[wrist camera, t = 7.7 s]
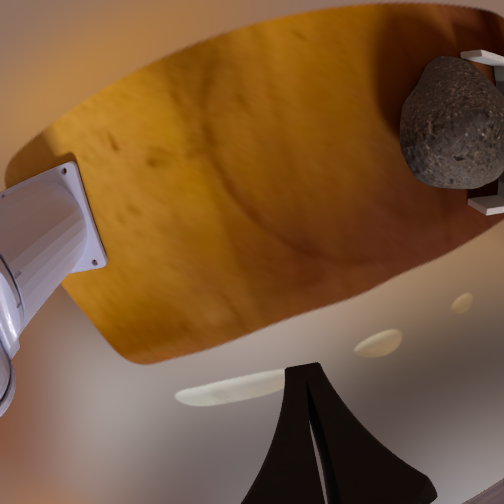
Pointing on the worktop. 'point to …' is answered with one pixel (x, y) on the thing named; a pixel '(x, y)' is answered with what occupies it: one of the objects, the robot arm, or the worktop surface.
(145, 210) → the worktop surface
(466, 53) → the digital alarm clock
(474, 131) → the stone
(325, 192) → the worktop surface
